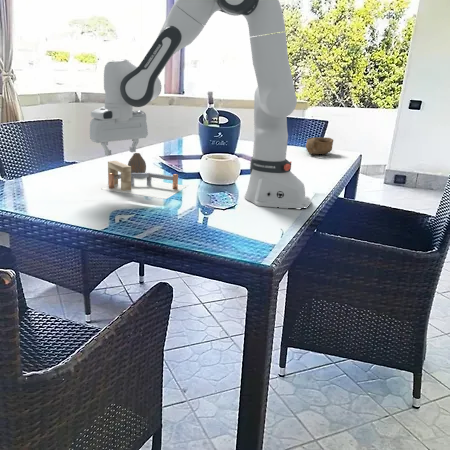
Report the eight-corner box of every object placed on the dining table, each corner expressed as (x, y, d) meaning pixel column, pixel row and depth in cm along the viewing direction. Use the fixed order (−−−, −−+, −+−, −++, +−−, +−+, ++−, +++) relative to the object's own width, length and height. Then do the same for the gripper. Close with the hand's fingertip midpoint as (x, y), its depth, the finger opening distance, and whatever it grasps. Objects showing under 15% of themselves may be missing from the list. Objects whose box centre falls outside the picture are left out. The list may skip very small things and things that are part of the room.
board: (188, 187, 176) (188, 185, 175) (166, 201, 158) (166, 199, 158) (128, 179, 182) (128, 177, 182) (100, 191, 165) (100, 189, 165)
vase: (142, 179, 184) (142, 156, 181) (124, 177, 185) (124, 154, 182) (148, 175, 190) (148, 152, 187) (131, 173, 191) (131, 150, 188)
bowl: (330, 156, 240) (327, 136, 238) (302, 160, 246) (299, 141, 244) (337, 150, 256) (334, 131, 254) (311, 154, 262) (308, 136, 260)
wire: (176, 184, 176) (176, 171, 174) (177, 189, 170) (178, 175, 168) (109, 183, 172) (109, 169, 170) (108, 188, 166) (108, 174, 164)
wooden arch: (115, 182, 173) (115, 160, 171) (131, 189, 166) (130, 166, 164) (108, 184, 171) (107, 161, 169) (123, 190, 164) (123, 167, 162)
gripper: (140, 109, 169) (141, 148, 174) (86, 112, 156) (88, 155, 161) (151, 111, 165) (151, 151, 170) (95, 114, 152) (98, 158, 156)
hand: (120, 153), depth 165 cm, fingers open, 8 cm apart
